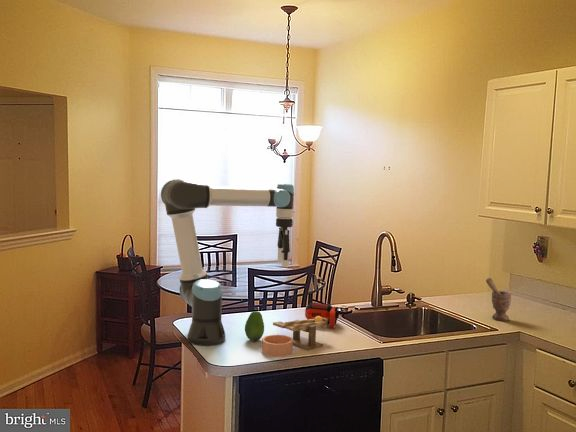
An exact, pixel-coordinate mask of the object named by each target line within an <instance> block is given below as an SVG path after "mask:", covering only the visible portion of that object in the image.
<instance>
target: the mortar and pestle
mask: <svg viewBox="0 0 576 432" xmlns="http://www.w3.org/2000/svg"><path fill="white" fill-rule="evenodd" d="M485 282H486V284H487V285H488V286H489V288H490V289H491V290H492V291H491V303H492V307H493V309H494V310H495V313H494V314H492V319H493V320H494V321H500V322H506V321H509V320H510V318H509V316H508V315H507V312H508V310H509V309H510V305H511V302H512V301H511V299H512V293H511V292H510V291H504V290H498V288H497V287H496V285H495V282H494V280H493V279H492V278H491V277H489V278H486V280H485Z"/></svg>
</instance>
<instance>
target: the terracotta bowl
mask: <svg viewBox="0 0 576 432" xmlns="http://www.w3.org/2000/svg"><path fill="white" fill-rule="evenodd" d="M262 337H263V338H262ZM262 337H261V352H262V354H264V355H266V356H271V357H286V356H289V355H292V353H293V352H294V345H293V339H292V338H293V337H291V336H287V335H284V334H283V335H282V334H269V335H266V336H262Z"/></svg>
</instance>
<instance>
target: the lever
mask: <svg viewBox="0 0 576 432" xmlns="http://www.w3.org/2000/svg"><path fill="white" fill-rule="evenodd" d="M321 318H322V317H321ZM298 320H299V319H298ZM327 321H328V319H326V318H322V322H315V319H309V320H308V319H301V320H299V321H295V320H292V321H285V322H284V321H273V322H272V325H273V326H274V327H278V328H281V329H286V330H289V331H292V332H293V331H300V332H301V331H302V332H305V333H309V326H311V325H315V326H316V330H318V329H324V328H328V324H327Z"/></svg>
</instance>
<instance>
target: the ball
mask: <svg viewBox="0 0 576 432" xmlns="http://www.w3.org/2000/svg"><path fill="white" fill-rule="evenodd" d="M315 322H322V318H321V317H320V316H317V317H315Z"/></svg>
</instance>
